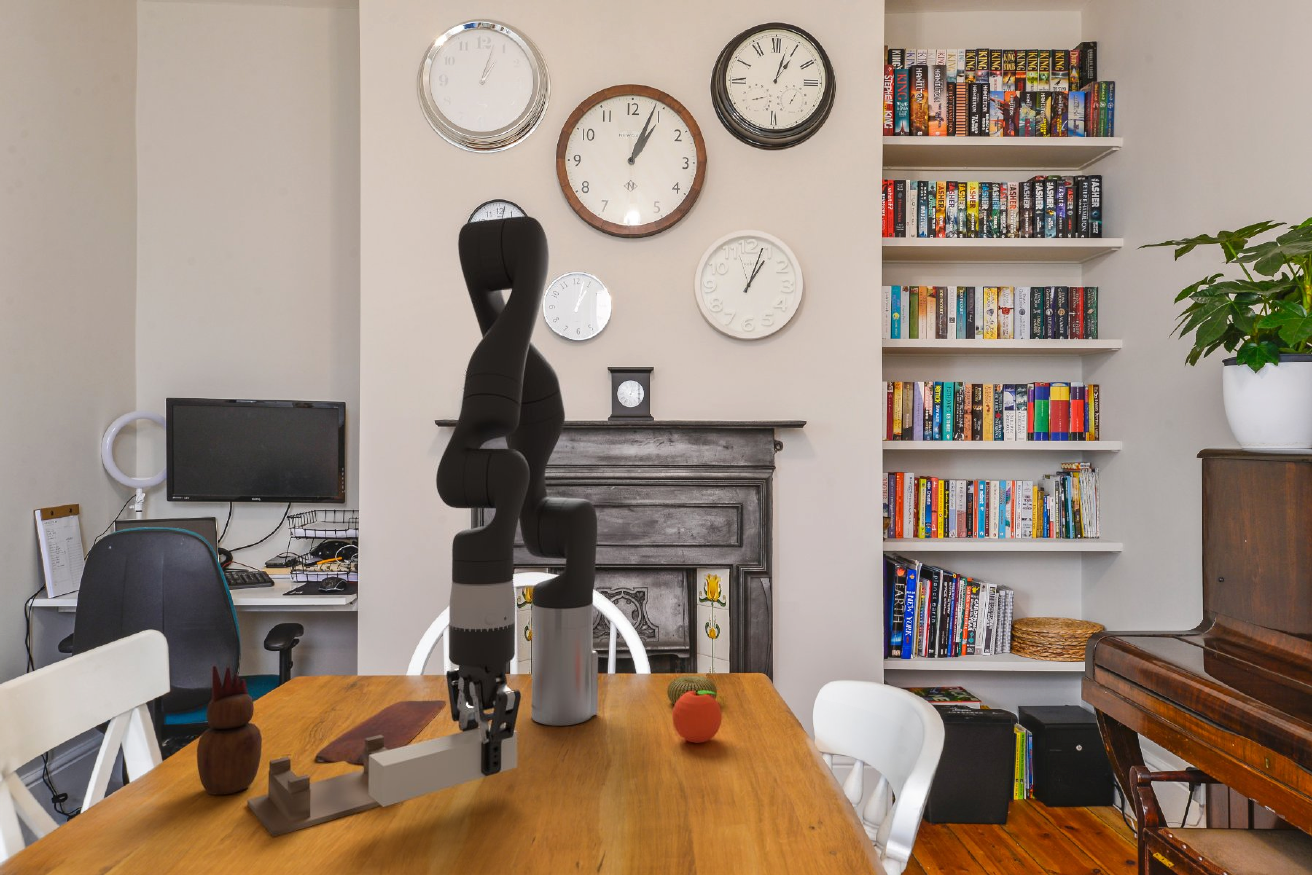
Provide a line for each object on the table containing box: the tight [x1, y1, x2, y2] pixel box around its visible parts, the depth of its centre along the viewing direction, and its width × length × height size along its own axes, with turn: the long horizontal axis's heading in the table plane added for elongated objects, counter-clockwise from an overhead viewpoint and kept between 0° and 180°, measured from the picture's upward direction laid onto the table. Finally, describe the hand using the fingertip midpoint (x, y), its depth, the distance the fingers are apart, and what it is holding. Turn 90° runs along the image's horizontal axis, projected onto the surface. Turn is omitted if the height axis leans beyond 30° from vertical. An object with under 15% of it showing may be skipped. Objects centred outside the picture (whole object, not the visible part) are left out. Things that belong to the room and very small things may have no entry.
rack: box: [246, 735, 388, 838], centre depth 92 cm, size 17×10×5 cm, turn 131°
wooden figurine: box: [196, 665, 263, 795], centre depth 95 cm, size 7×6×15 cm
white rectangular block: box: [369, 724, 518, 808], centre depth 89 cm, size 16×4×4 cm, turn 131°
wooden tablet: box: [314, 699, 447, 766], centre depth 116 cm, size 27×10×2 cm, turn 174°
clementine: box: [671, 690, 727, 744], centre depth 111 cm, size 8×7×7 cm
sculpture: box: [667, 675, 718, 706], centre depth 128 cm, size 8×4×8 cm
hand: (481, 766), depth 92 cm, fingers closed on white rectangular block, 4 cm apart
